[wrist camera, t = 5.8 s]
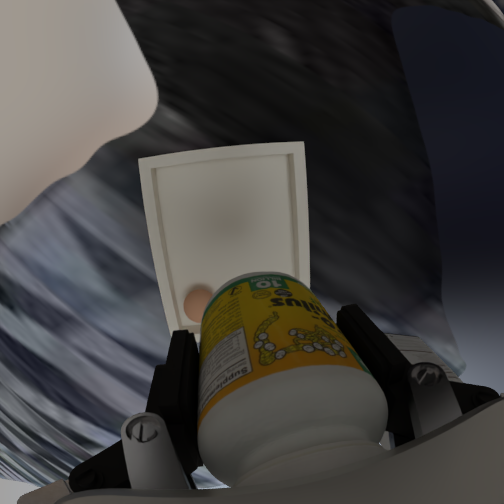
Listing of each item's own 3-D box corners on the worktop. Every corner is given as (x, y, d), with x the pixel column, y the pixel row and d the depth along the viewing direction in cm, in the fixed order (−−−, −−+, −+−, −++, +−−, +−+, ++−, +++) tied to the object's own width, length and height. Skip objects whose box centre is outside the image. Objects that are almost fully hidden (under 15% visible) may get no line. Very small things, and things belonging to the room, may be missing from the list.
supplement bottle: (178, 333, 13) (153, 541, 4) (252, 241, 12) (345, 450, 3) (268, 382, 14) (314, 552, 5) (340, 307, 13) (461, 466, 4)
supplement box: (391, 384, 37) (438, 453, 23) (344, 383, 36) (388, 466, 22) (420, 336, 35) (482, 400, 21) (374, 329, 33) (440, 409, 19)
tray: (145, 158, 25) (138, 159, 22) (296, 143, 26) (303, 141, 23) (175, 330, 30) (173, 344, 28) (303, 315, 31) (309, 327, 29)
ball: (182, 285, 28) (178, 300, 25) (214, 282, 28) (214, 296, 25) (188, 314, 29) (185, 331, 26) (219, 310, 29) (219, 327, 26)
